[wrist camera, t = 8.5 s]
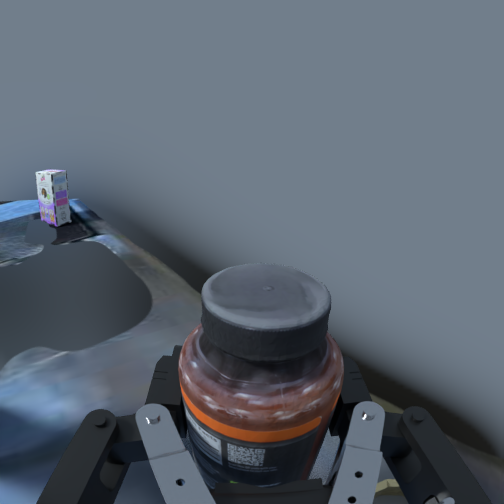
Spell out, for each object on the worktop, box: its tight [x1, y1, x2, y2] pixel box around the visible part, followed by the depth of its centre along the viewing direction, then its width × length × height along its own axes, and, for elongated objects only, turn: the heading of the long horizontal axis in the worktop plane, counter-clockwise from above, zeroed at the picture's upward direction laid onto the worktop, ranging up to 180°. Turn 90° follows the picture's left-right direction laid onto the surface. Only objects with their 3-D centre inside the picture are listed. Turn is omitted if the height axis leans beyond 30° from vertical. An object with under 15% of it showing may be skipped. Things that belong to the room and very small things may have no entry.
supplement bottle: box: [178, 263, 344, 490], centre depth 12 cm, size 6×6×11 cm
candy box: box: [36, 170, 71, 227], centre depth 83 cm, size 14×6×16 cm, turn 60°
